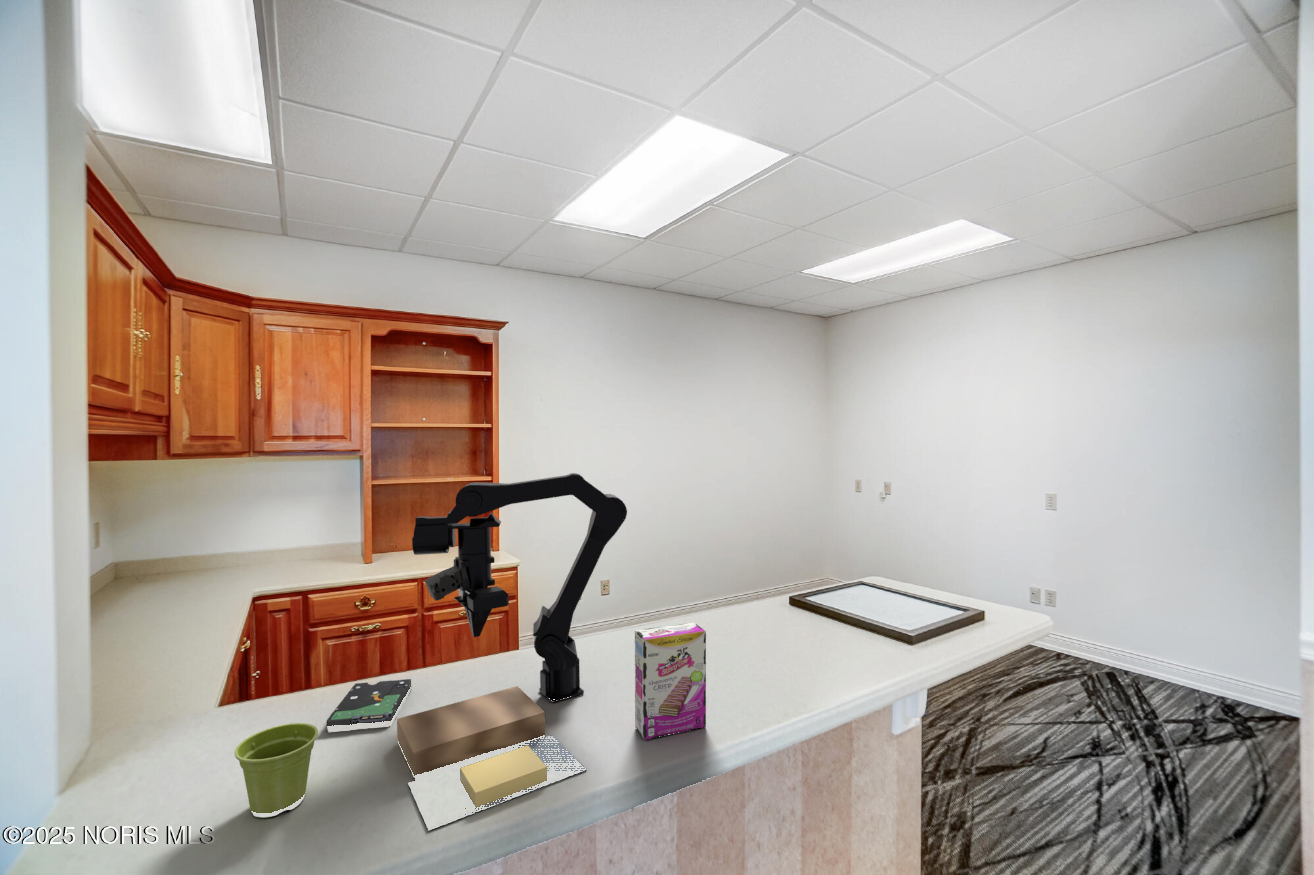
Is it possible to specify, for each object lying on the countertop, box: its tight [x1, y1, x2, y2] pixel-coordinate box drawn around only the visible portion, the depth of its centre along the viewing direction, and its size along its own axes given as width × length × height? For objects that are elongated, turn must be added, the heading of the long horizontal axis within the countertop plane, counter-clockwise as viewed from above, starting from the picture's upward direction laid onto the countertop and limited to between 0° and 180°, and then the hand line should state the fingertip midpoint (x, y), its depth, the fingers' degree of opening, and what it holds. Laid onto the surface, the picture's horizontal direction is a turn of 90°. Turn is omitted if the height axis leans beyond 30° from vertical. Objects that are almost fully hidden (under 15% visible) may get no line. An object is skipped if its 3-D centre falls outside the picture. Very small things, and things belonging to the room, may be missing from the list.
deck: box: [396, 685, 546, 776], centre depth 93 cm, size 20×12×4 cm, turn 125°
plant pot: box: [234, 722, 319, 813], centre depth 78 cm, size 9×9×9 cm
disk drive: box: [326, 678, 412, 727], centre depth 104 cm, size 10×3×15 cm
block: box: [460, 745, 547, 808], centre depth 82 cm, size 10×7×2 cm
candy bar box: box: [634, 622, 707, 741], centre depth 96 cm, size 11×5×16 cm, turn 111°
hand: (476, 636), depth 107 cm, fingers closed
